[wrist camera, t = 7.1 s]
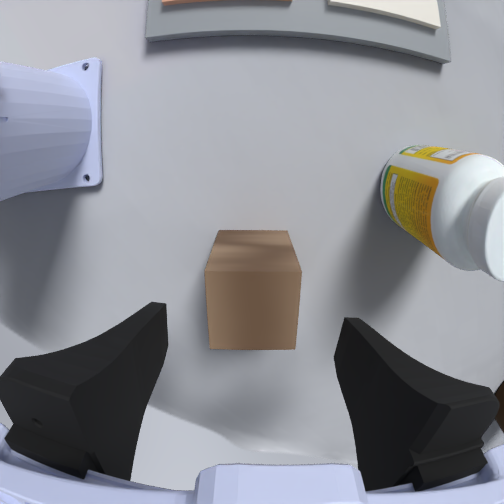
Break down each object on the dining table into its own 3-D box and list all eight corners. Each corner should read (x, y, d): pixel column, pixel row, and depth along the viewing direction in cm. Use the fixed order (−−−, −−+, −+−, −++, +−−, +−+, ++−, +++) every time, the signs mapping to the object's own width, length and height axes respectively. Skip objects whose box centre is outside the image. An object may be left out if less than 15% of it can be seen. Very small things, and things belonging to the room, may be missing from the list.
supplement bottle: (413, 126, 16) (525, 132, 7) (460, 186, 18) (566, 227, 9) (359, 190, 18) (448, 242, 9) (412, 245, 19) (502, 320, 10)
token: (220, 291, 20) (209, 348, 15) (218, 230, 19) (204, 270, 13) (284, 291, 20) (295, 349, 14) (287, 230, 19) (301, 271, 13)
